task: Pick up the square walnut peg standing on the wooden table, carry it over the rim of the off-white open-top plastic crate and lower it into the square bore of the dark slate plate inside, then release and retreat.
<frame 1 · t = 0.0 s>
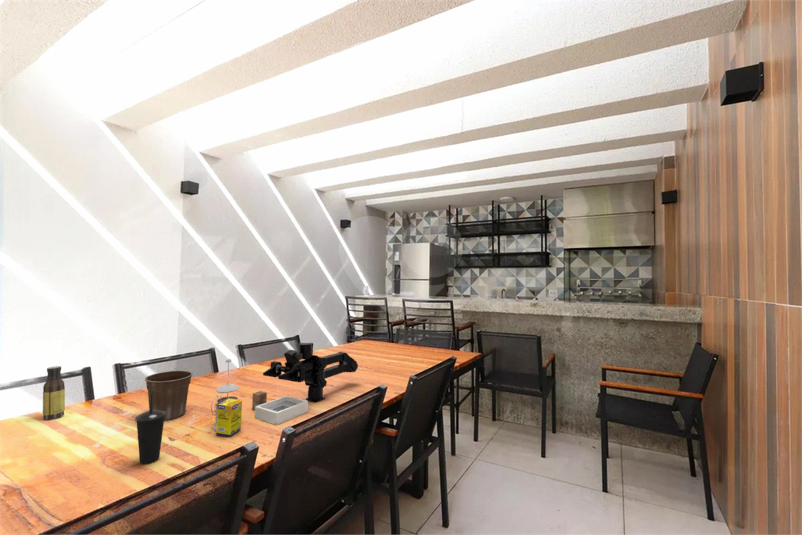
hand: (270, 375, 142), 17 cm above the table, tool horizontal, fingers open, 9 cm apart
supplement box: (228, 432, 127), on the table, touching french press
sauce bottle: (53, 418, 140), on the table
socket plate: (282, 410, 144), in the crate, point 1 cm above the table
french press: (225, 426, 133), on the table, touching supplement box
peg: (259, 409, 150), on the table
plant pot: (168, 416, 143), on the table
crate: (282, 414, 144), on the table
drinking cup: (149, 460, 108), on the table
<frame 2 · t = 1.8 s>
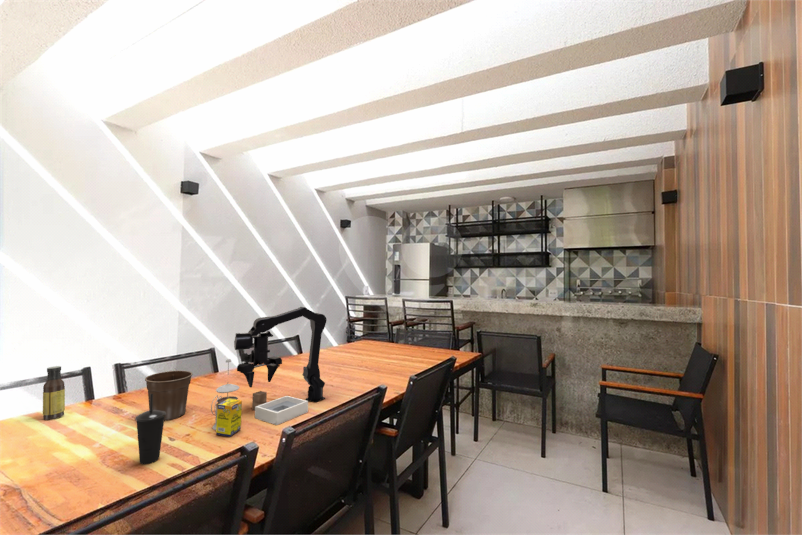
hand: (260, 384, 151), 10 cm above the table, tool pointing down, fingers open, 9 cm apart
nothing on the table moved.
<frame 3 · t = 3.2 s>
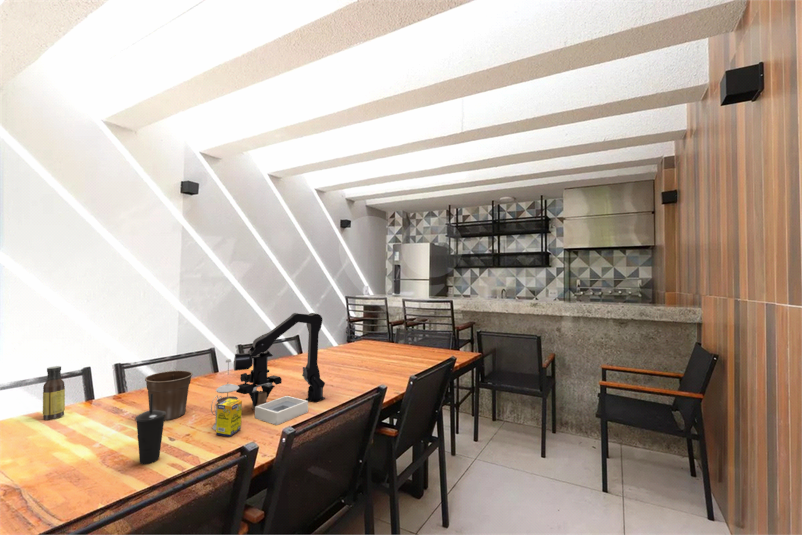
hand: (259, 404, 150), 2 cm above the table, tool pointing down, fingers closed on peg, 4 cm apart
peg: (259, 409, 150), on the table, touching gripper
everything else where it was.
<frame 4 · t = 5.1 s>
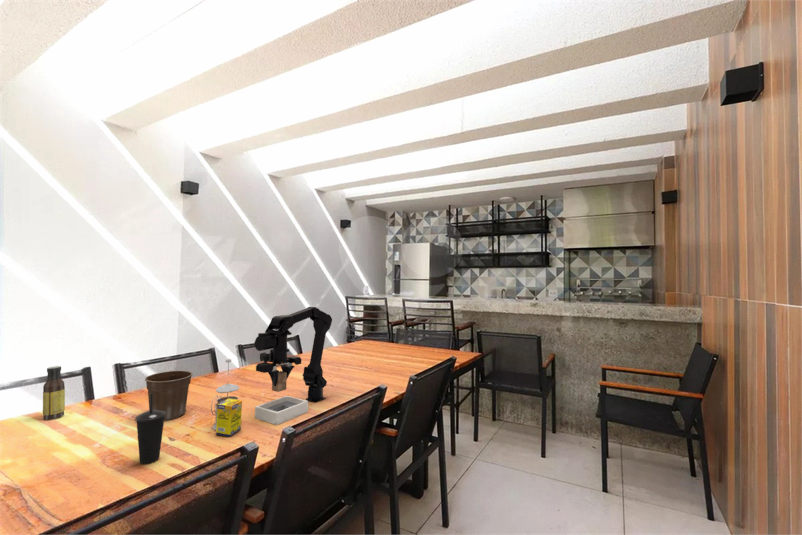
hand: (279, 384, 146), 12 cm above the table, tool pointing down, fingers closed on peg, 4 cm apart
peg: (279, 389, 145), point 10 cm above the table, touching gripper
everything else where it was.
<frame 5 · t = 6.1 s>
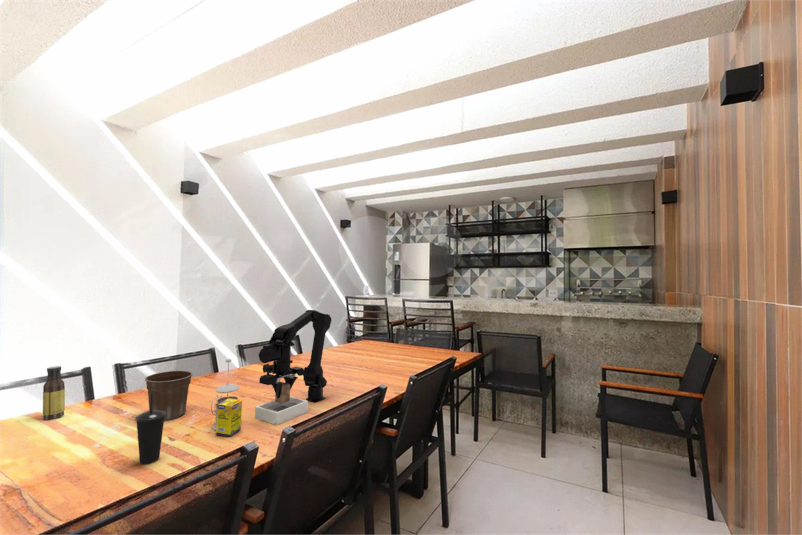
hand: (282, 396, 145), 7 cm above the table, tool pointing down, fingers closed on peg, 4 cm apart
peg: (282, 401, 145), point 5 cm above the table, touching gripper
everything else where it was.
when the fingers open (5 cm above the table, at t = 6.9 s): peg drops 2 cm, resting on crate.
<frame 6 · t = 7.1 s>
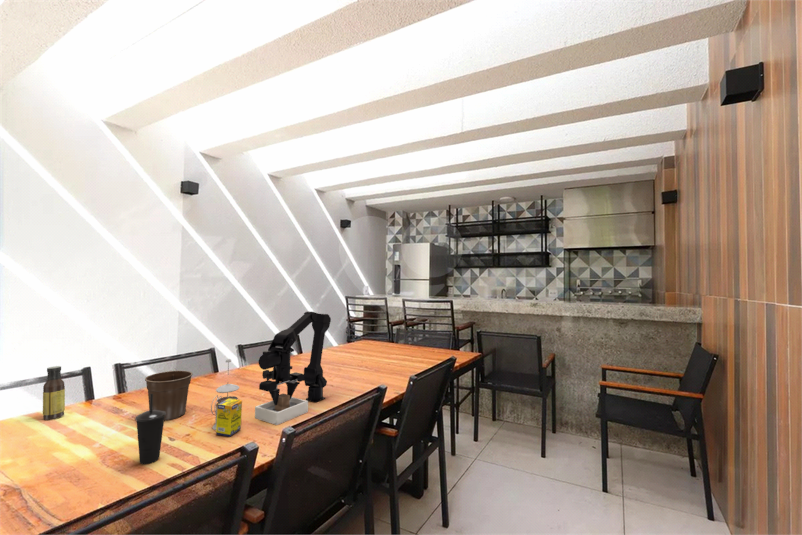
hand: (282, 402, 145), 5 cm above the table, tool pointing down, fingers open, 6 cm apart
peg: (282, 412, 144), point 1 cm above the table, touching crate
everything else where it was.
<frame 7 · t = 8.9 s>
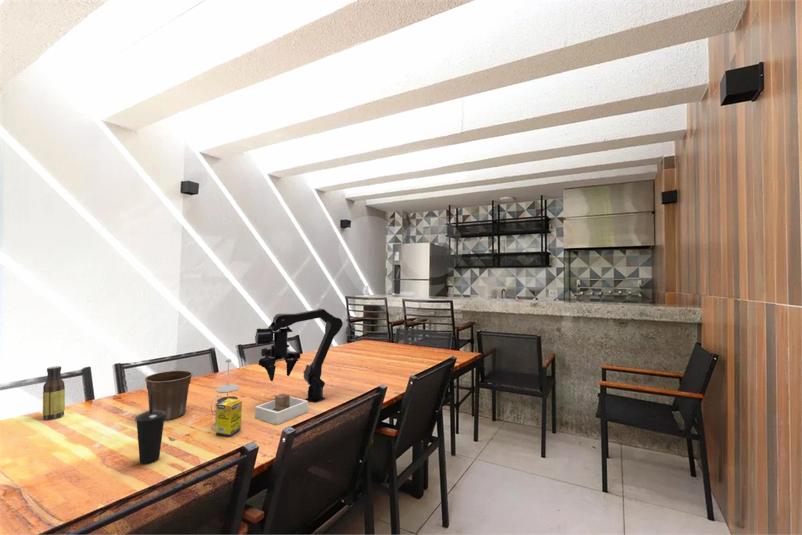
hand: (280, 378, 155), 12 cm above the table, tool pointing down, fingers open, 9 cm apart
nothing on the table moved.
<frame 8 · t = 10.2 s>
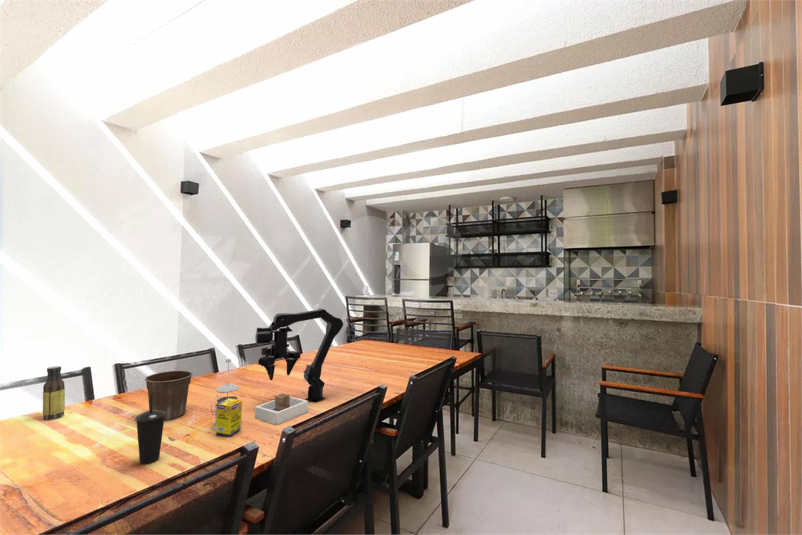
hand: (279, 377, 156), 12 cm above the table, tool pointing down, fingers open, 9 cm apart
nothing on the table moved.
at the end: peg 0.1 cm off-centre on the crate, point 0.8 cm above the crate's base; peg tilted 0°; the gripper is holding nothing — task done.
